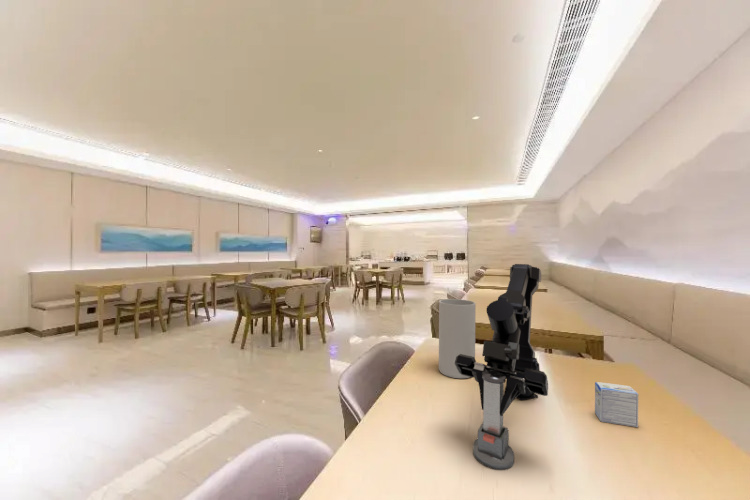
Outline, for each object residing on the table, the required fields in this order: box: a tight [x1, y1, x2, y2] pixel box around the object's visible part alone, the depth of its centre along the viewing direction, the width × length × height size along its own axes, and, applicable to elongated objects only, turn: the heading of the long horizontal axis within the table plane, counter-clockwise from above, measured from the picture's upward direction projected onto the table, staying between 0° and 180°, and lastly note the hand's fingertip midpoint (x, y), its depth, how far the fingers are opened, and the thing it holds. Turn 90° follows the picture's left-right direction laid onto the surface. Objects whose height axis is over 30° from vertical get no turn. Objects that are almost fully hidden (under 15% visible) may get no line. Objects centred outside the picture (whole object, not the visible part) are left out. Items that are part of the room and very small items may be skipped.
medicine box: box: [594, 381, 639, 428], centre depth 77 cm, size 8×4×9 cm, turn 71°
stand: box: [472, 422, 515, 471], centre depth 63 cm, size 8×8×6 cm
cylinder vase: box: [438, 298, 477, 379], centre depth 107 cm, size 12×12×25 cm
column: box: [482, 371, 507, 438], centre depth 63 cm, size 5×5×13 cm
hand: (491, 412), depth 62 cm, fingers closed on column, 3 cm apart
